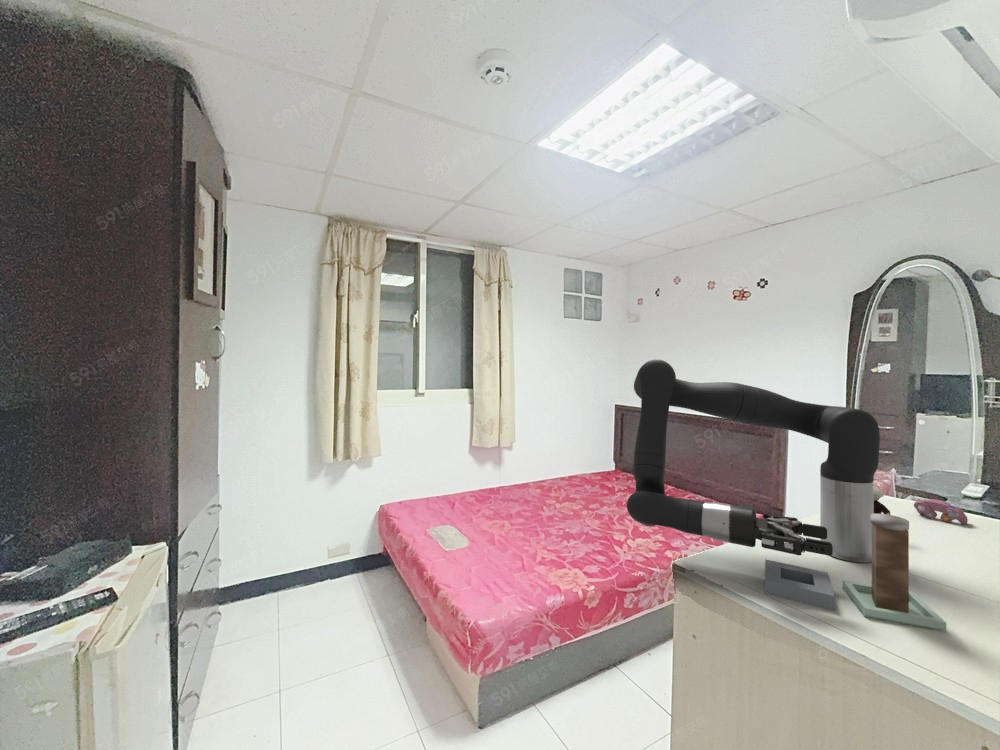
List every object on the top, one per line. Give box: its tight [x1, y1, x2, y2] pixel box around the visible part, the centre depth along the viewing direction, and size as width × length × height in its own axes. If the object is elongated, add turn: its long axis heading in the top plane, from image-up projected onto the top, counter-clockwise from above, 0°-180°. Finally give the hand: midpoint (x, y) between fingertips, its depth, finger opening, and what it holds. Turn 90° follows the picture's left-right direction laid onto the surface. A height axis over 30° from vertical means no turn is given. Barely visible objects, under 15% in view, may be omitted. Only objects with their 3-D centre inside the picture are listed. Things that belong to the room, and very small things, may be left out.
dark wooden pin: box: [871, 513, 910, 613], centre depth 70 cm, size 5×5×15 cm
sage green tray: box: [842, 579, 947, 633], centre depth 70 cm, size 10×10×2 cm
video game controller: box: [913, 497, 969, 525], centre depth 114 cm, size 10×5×7 cm, turn 26°
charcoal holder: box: [764, 558, 836, 612], centre depth 76 cm, size 10×10×3 cm
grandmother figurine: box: [873, 485, 892, 515], centre depth 102 cm, size 8×4×13 cm, turn 21°
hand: (829, 541), depth 75 cm, fingers open, 8 cm apart
